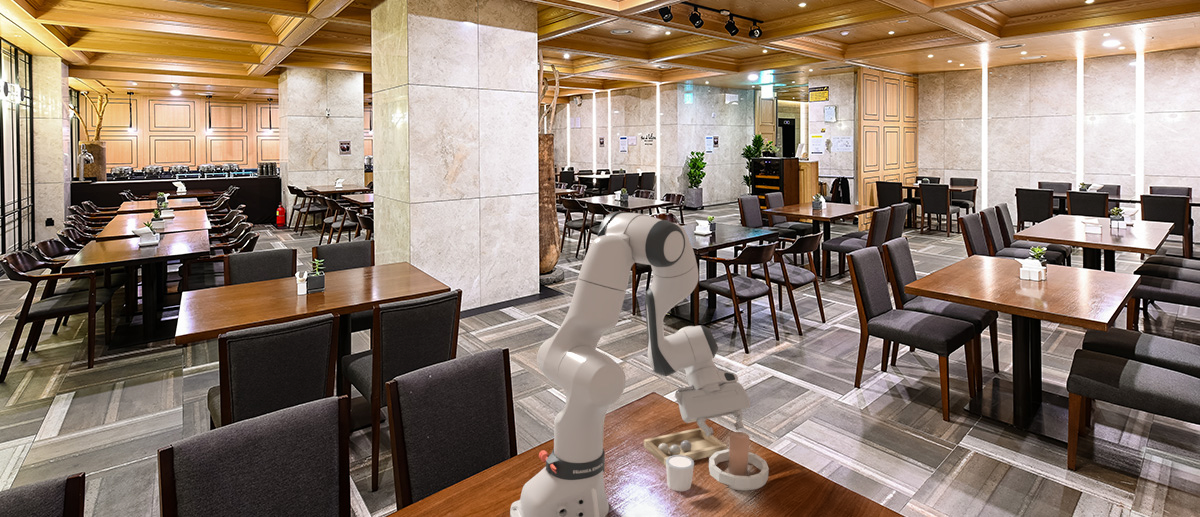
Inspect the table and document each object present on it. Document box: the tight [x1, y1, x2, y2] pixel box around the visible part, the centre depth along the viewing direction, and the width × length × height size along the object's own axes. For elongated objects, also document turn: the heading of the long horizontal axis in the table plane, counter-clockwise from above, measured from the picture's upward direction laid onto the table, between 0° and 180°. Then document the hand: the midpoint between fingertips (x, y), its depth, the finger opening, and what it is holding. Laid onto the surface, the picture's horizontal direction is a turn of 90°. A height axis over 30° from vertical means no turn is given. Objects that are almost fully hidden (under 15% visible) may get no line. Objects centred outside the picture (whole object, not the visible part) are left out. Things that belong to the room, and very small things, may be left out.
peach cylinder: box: [727, 431, 751, 476], centre depth 155 cm, size 5×5×10 cm
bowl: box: [708, 448, 770, 492], centre depth 156 cm, size 14×14×3 cm
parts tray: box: [643, 427, 728, 467], centre depth 167 cm, size 19×12×3 cm, turn 115°
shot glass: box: [665, 455, 695, 492], centre depth 149 cm, size 7×7×7 cm
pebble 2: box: [669, 445, 681, 456], centre depth 164 cm, size 3×3×3 cm
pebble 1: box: [658, 443, 669, 454], centre depth 164 cm, size 3×3×3 cm
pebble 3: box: [680, 440, 692, 452], centre depth 166 cm, size 3×3×3 cm
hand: (725, 432), depth 160 cm, fingers open, 8 cm apart
